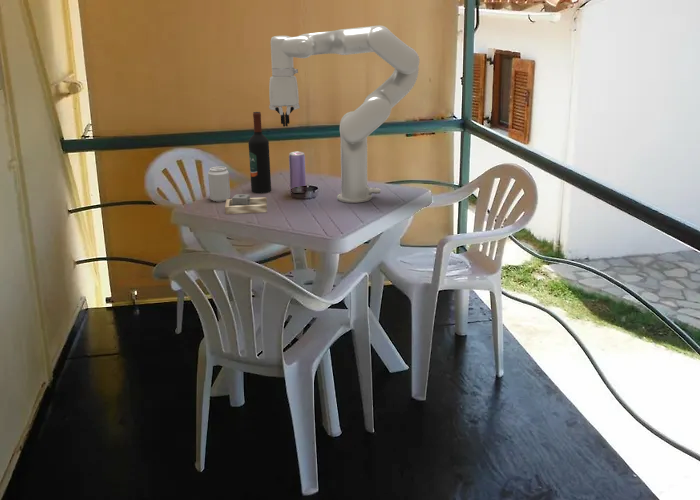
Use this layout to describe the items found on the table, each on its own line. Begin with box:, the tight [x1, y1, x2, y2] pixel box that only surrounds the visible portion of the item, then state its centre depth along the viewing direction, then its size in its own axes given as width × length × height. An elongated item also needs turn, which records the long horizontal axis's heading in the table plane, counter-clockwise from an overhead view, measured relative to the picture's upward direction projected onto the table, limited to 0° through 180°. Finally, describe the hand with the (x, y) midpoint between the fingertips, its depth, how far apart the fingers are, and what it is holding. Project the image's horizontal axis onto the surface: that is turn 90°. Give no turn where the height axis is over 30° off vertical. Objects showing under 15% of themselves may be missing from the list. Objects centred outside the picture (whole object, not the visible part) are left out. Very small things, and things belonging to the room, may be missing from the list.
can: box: [207, 165, 231, 203], centre depth 266 cm, size 8×8×12 cm
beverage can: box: [288, 151, 307, 192], centre depth 274 cm, size 6×6×15 cm
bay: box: [224, 196, 268, 215], centre depth 256 cm, size 14×10×2 cm
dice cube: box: [231, 193, 251, 206], centre depth 255 cm, size 5×5×5 cm
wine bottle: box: [247, 111, 272, 194], centre depth 274 cm, size 8×8×30 cm
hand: (285, 125), depth 258 cm, fingers closed
